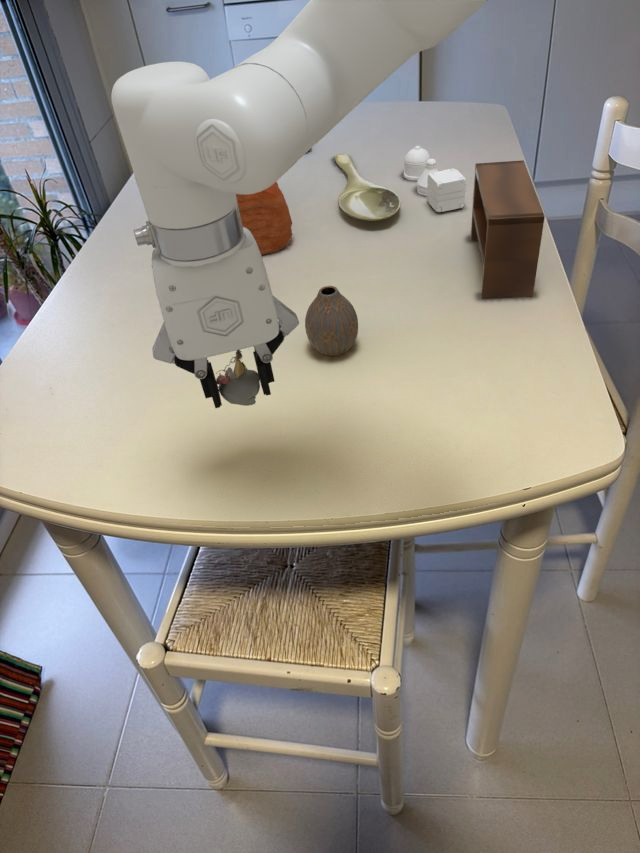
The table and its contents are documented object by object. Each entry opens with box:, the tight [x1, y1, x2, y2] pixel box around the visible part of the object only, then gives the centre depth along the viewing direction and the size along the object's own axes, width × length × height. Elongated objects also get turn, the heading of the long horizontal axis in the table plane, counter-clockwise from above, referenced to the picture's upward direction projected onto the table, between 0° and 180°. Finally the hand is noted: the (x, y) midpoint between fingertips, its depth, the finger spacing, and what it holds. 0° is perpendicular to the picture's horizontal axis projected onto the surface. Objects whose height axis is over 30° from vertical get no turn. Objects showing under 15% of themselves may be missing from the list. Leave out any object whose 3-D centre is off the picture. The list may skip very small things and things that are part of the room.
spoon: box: [333, 153, 402, 222], centre depth 121 cm, size 35×11×2 cm, turn 10°
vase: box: [304, 285, 359, 357], centre depth 84 cm, size 7×7×9 cm
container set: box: [403, 145, 467, 213], centre depth 117 cm, size 20×5×6 cm, turn 13°
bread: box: [236, 181, 293, 256], centre depth 113 cm, size 16×27×11 cm, turn 14°
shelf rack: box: [470, 160, 546, 299], centre depth 94 cm, size 7×18×12 cm, turn 176°
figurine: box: [215, 349, 261, 407], centre depth 66 cm, size 5×4×6 cm
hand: (241, 392), depth 67 cm, fingers closed on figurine, 4 cm apart
